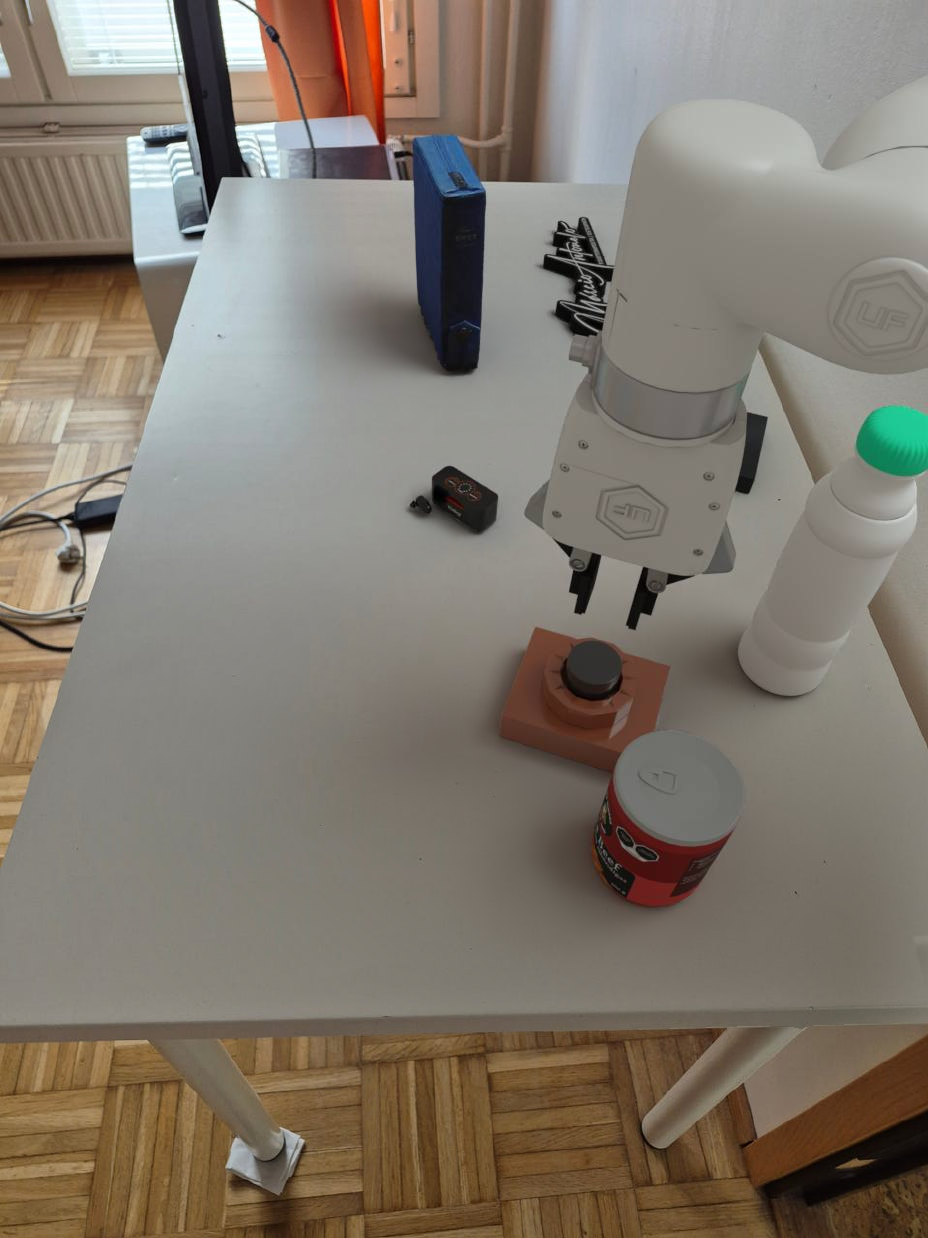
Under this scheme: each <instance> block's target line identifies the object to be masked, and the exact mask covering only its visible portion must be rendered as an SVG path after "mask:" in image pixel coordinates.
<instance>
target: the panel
mask: <svg viewBox="0 0 928 1238" xmlns="http://www.w3.org/2000/svg"><path fill="white" fill-rule="evenodd" d="M768 421H769V416H766V415H761V414H758V413H753V412H748V411H747V422H746V439H745V447H744V453H743V459H742V464H741V469H740V473H739V477H738V481H737V485H736V488H735V492H736V491H737V492H741V493H745V494H750V493H751V491H752V488H753V485H754V483H755V480H756V476H757V473H758V468H759V467H758V466H759V462H760V458H761V453H762V448H763V444H764V438H765V435H766V434H765V433H766V428H767V425H768Z"/></svg>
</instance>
